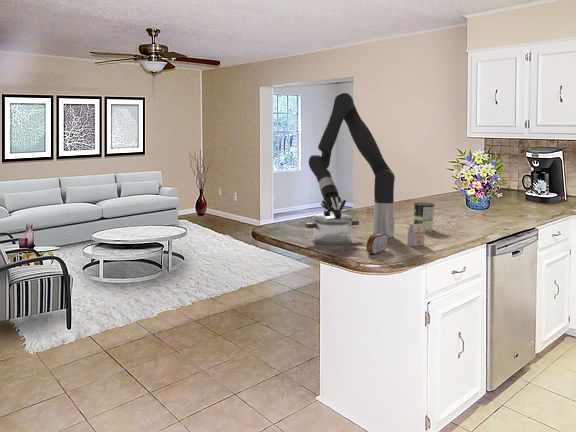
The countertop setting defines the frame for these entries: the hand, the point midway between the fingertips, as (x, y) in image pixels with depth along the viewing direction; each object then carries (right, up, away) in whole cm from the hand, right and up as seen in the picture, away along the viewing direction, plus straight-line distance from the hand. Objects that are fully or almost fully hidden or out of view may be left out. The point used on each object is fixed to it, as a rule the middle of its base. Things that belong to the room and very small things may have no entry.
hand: (339, 217), depth 236 cm
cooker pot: (-3, -11, +8) cm, 14 cm away
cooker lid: (-2, -1, +7) cm, 7 cm away
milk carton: (+35, -13, 0) cm, 38 cm away
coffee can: (+48, -7, +37) cm, 61 cm away
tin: (+15, -15, -14) cm, 26 cm away
